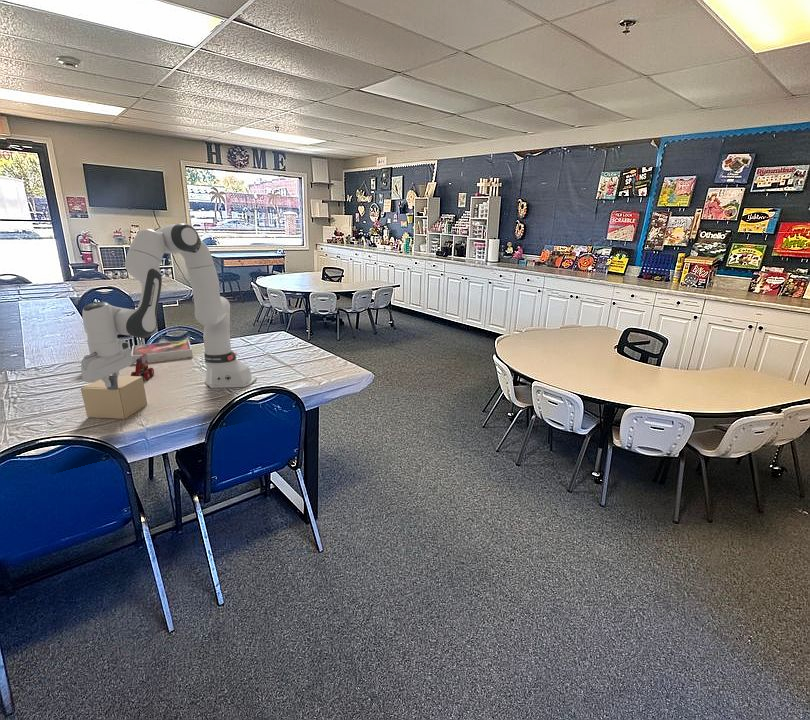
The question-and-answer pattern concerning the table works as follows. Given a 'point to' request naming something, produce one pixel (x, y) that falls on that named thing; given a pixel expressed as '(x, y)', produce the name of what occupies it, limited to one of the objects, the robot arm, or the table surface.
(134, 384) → the carton
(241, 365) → the robot arm
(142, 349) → the product packaging
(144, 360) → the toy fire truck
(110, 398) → the carton flap
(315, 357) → the table surface
